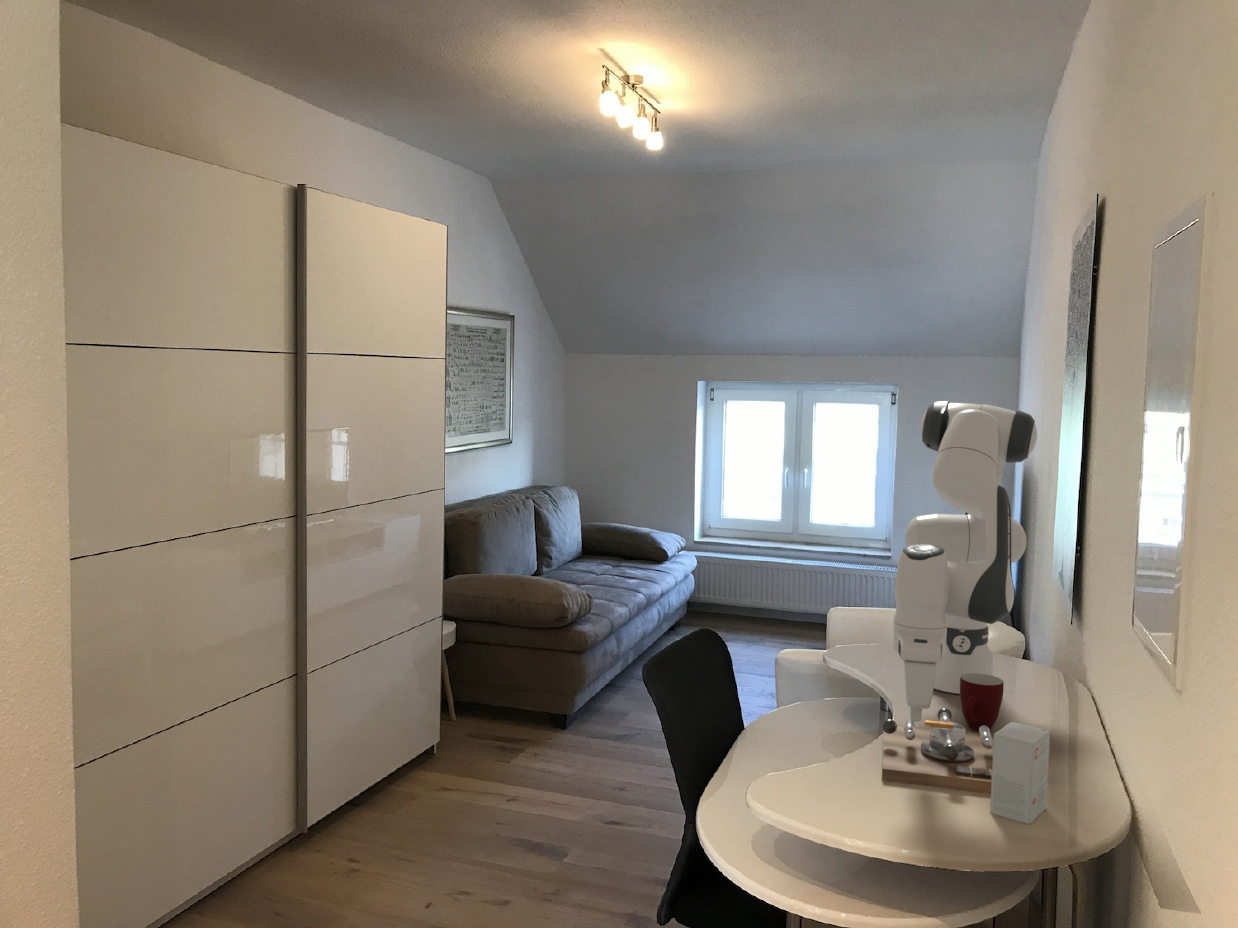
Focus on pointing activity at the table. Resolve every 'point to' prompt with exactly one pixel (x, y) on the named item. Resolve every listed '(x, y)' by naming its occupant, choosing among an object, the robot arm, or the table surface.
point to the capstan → (943, 738)
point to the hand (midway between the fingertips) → (915, 718)
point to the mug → (980, 699)
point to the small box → (1020, 772)
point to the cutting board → (935, 763)
